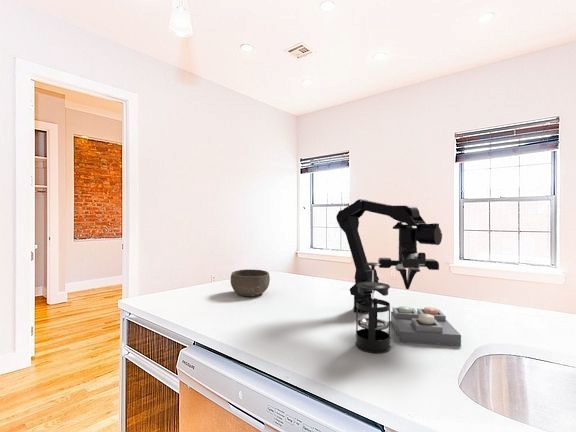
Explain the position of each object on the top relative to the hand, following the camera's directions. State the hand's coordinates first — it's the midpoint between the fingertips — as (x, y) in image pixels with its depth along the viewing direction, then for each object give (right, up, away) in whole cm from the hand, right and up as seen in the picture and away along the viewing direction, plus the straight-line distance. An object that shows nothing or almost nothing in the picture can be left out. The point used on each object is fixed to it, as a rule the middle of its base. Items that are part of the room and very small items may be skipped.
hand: (407, 289), depth 109 cm
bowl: (-57, -11, +38) cm, 70 cm away
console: (+1, -11, -9) cm, 14 cm away
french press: (-17, -11, -19) cm, 28 cm away
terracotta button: (+6, -7, -4) cm, 11 cm away
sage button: (-1, -8, -2) cm, 8 cm away
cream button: (+1, -7, -14) cm, 15 cm away
